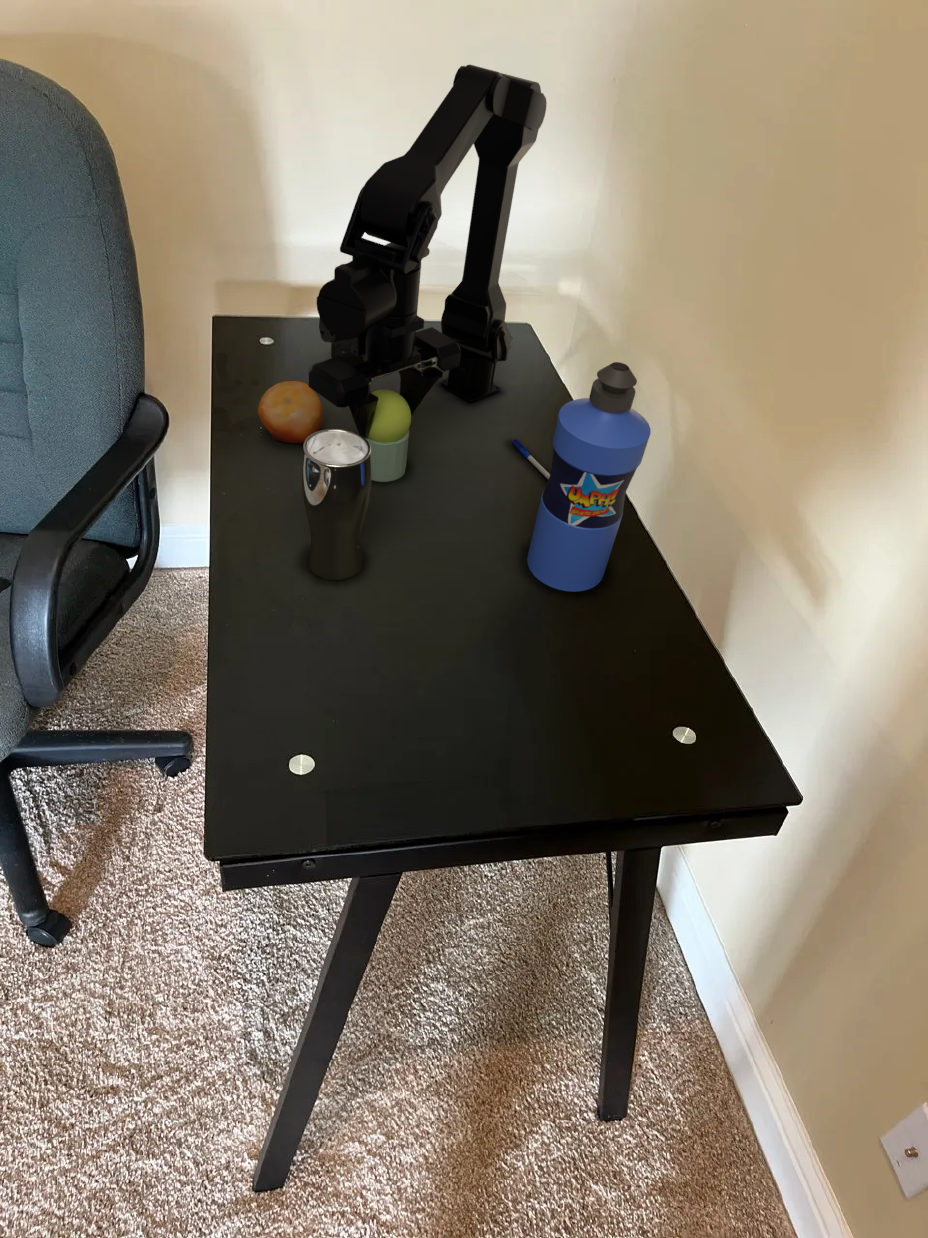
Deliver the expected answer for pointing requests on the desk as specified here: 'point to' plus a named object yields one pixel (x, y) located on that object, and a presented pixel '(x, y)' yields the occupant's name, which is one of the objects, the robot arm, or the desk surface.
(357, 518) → the metal tumbler
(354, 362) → the tape measure
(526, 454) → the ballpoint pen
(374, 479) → the cup
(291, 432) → the fruit
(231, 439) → the desk surface
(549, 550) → the blue squeeze bottle
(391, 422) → the ball
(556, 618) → the desk surface
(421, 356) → the robot arm
